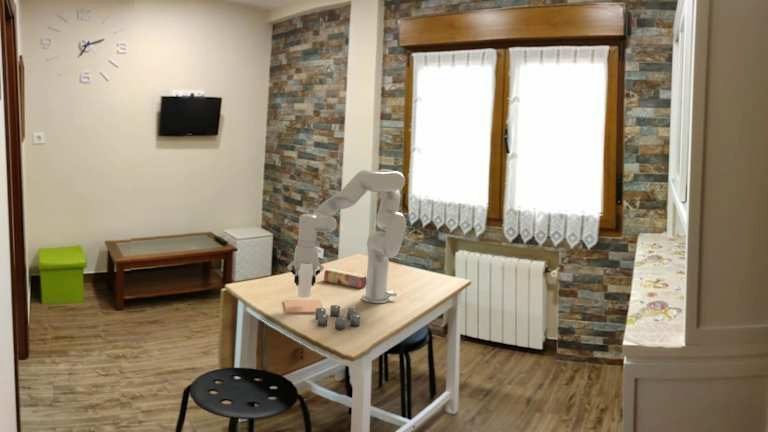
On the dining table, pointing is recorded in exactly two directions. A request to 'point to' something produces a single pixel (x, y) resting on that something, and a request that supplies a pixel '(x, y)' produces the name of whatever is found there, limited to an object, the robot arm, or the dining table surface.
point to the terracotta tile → (302, 306)
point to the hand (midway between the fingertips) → (304, 284)
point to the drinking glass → (305, 280)
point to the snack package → (345, 278)
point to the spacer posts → (339, 321)
